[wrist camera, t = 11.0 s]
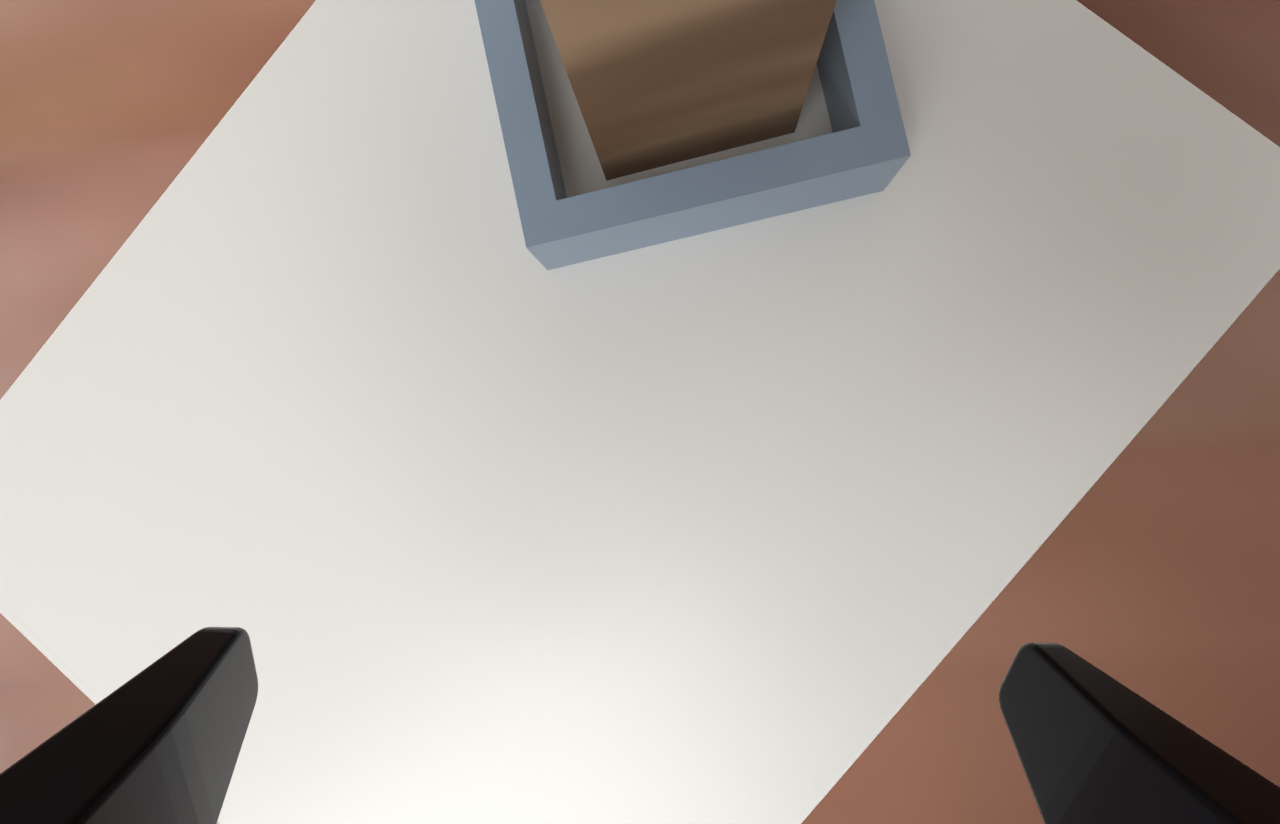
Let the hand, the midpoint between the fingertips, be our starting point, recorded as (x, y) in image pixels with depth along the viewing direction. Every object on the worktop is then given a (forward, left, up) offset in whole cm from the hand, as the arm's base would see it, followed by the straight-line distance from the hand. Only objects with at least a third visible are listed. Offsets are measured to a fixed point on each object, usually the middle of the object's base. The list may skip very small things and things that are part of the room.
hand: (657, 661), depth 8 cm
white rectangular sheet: (+5, -1, -9) cm, 10 cm away
